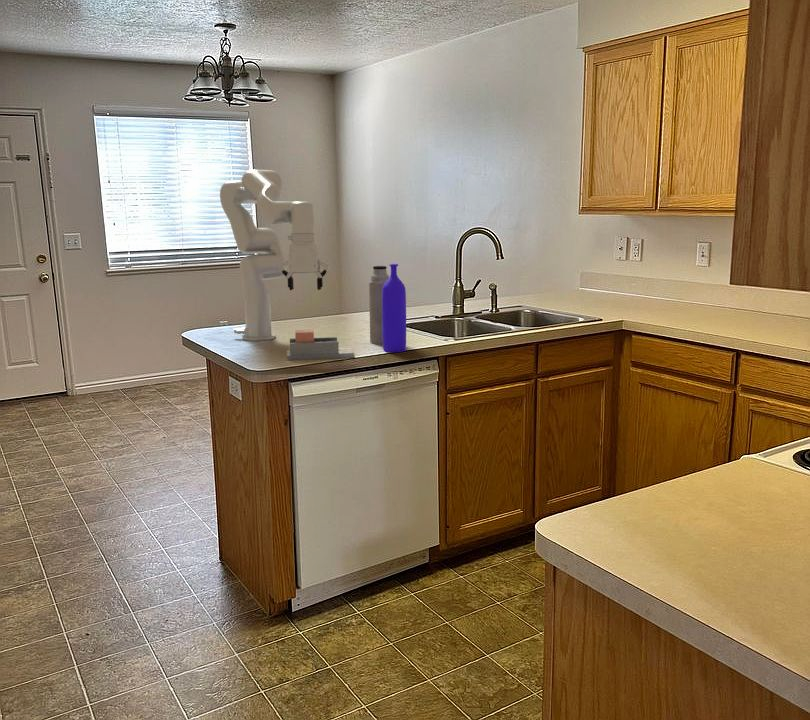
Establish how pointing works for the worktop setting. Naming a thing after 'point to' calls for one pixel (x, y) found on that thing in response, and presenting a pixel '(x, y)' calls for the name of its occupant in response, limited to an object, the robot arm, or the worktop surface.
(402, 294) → the bottle
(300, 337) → the block
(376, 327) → the thermos bottle
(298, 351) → the chute
